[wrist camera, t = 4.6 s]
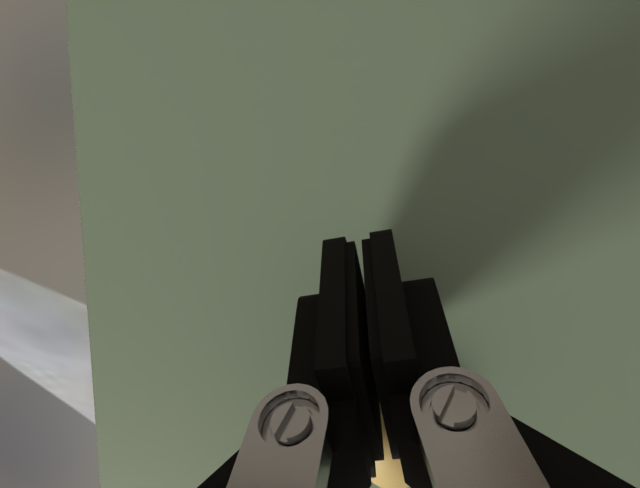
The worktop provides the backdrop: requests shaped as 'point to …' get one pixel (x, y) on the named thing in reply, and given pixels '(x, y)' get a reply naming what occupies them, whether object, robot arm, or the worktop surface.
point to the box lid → (354, 205)
